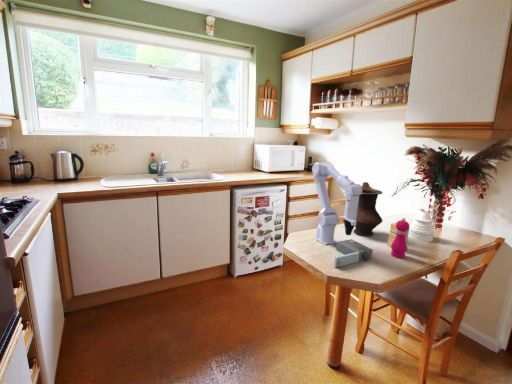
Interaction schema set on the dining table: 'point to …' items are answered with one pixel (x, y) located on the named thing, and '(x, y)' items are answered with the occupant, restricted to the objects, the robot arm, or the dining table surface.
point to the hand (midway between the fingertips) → (348, 234)
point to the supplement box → (394, 234)
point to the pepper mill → (400, 239)
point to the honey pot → (422, 227)
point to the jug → (367, 211)
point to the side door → (346, 259)
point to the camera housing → (354, 249)
